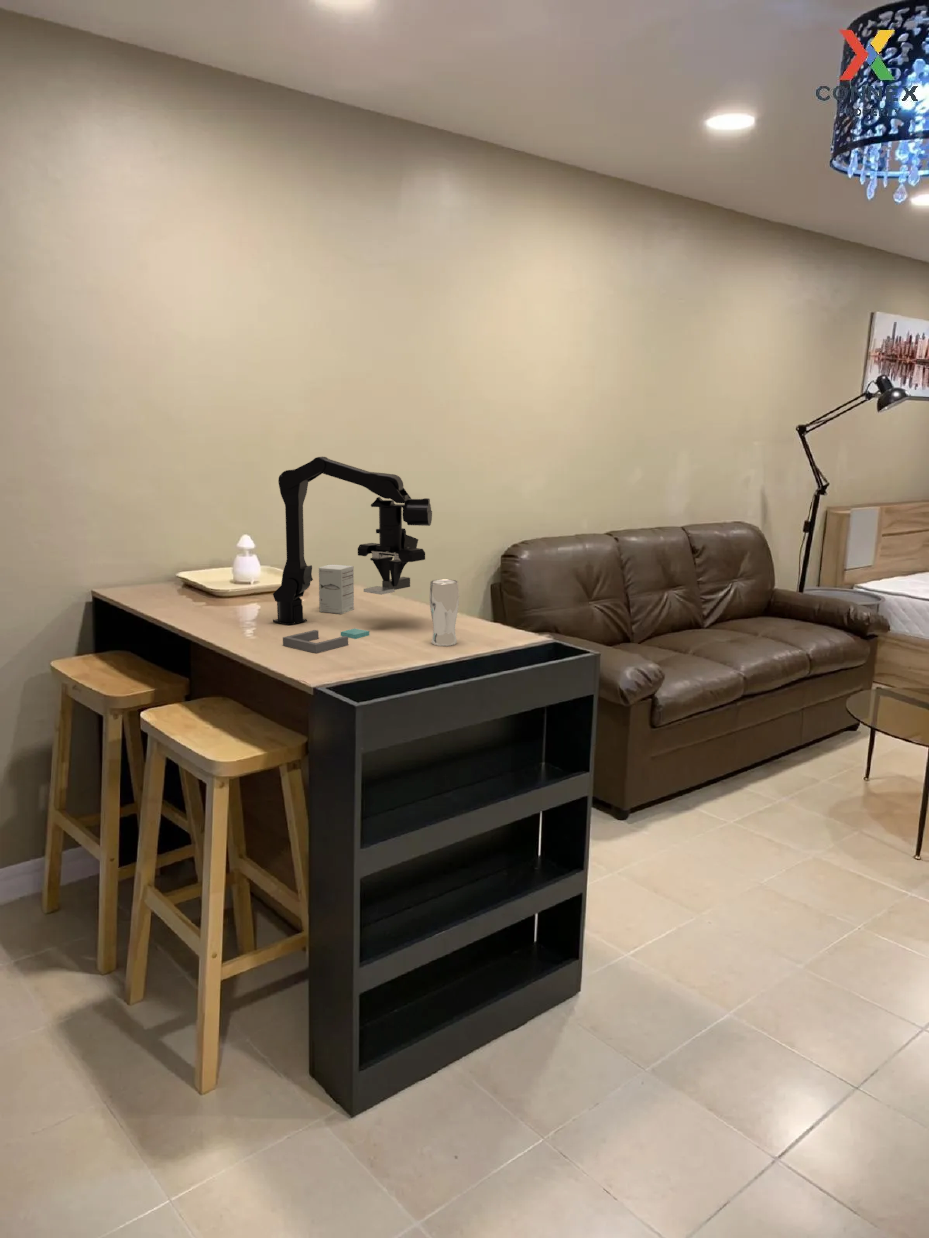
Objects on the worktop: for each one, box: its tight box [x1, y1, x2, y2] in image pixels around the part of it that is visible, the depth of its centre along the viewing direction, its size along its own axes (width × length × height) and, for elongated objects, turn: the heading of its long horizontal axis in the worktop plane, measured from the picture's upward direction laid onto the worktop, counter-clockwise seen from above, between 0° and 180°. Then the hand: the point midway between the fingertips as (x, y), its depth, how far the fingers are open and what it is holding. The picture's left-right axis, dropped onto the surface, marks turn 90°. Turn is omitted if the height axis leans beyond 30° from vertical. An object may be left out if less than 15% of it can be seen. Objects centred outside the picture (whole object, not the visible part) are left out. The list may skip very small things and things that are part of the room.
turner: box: [363, 576, 411, 595], centre depth 230 cm, size 13×6×2 cm, turn 142°
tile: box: [340, 627, 370, 640], centre depth 223 cm, size 5×5×2 cm
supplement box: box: [318, 564, 355, 615], centre depth 250 cm, size 7×7×13 cm
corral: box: [282, 629, 349, 654], centre depth 212 cm, size 11×10×2 cm
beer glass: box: [429, 578, 460, 647], centre depth 214 cm, size 7×7×15 cm
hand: (391, 585), depth 231 cm, fingers closed on turner, 2 cm apart
